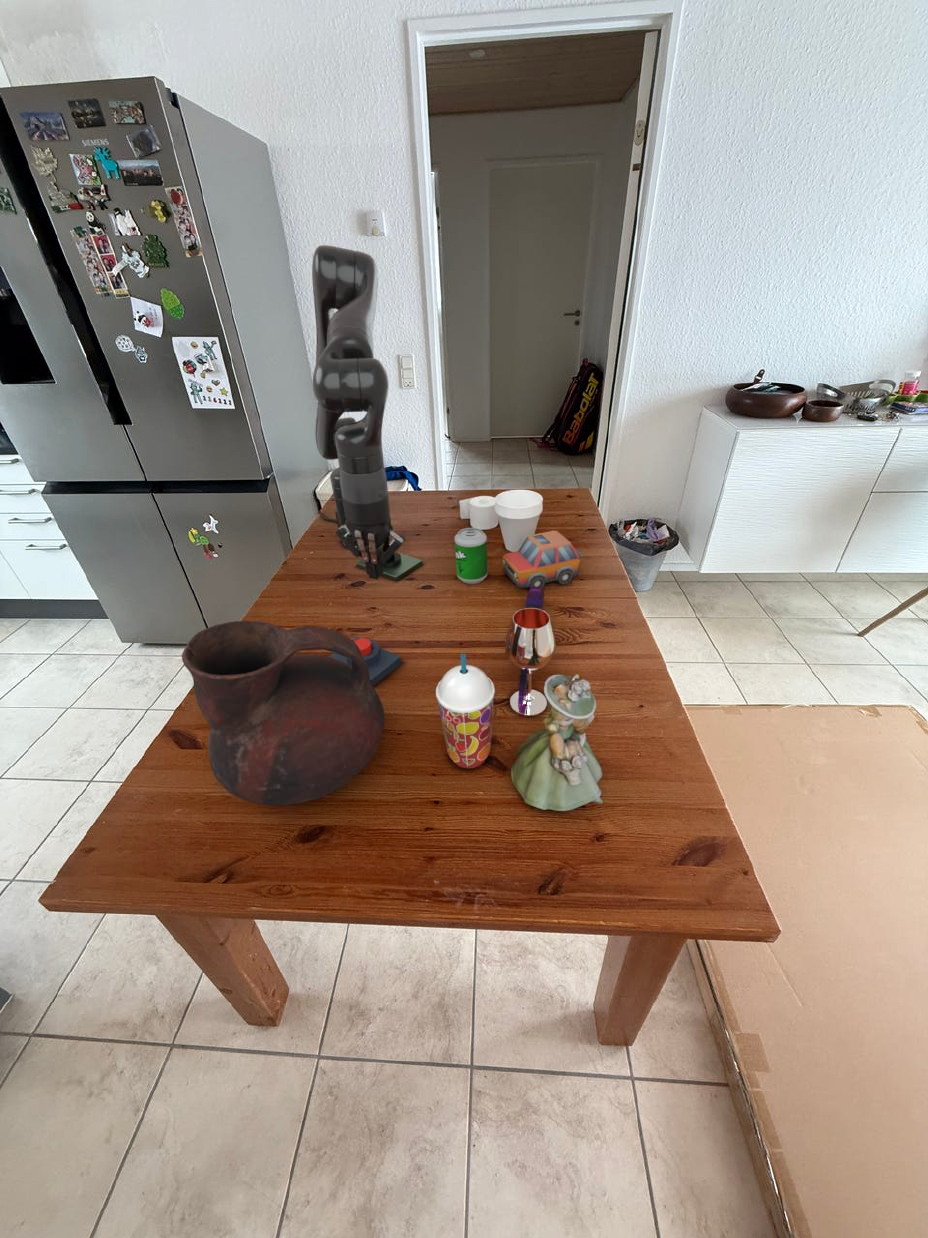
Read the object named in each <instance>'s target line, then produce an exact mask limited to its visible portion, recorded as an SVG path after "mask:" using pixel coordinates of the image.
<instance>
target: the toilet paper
mask: <svg viewBox="0 0 928 1238" xmlns="http://www.w3.org/2000/svg"><path fill="white" fill-rule="evenodd" d="M459 513H460V514H459V515H460V520H469V519H470V520H469V521H470V522H469V523H470V526H471V528H477V529H480V530H482V531H483V530H491V529H495V528H496V527H497V526H498V525H499V520H498V516H497V513H496V512H495V497H493V496H490V495H480V496H475V497H470V498H466V499H461V500H459Z"/></svg>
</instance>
